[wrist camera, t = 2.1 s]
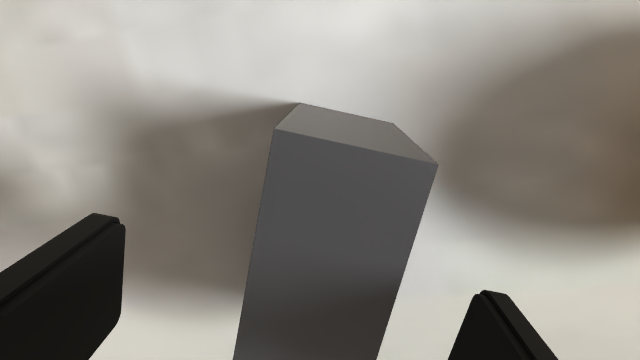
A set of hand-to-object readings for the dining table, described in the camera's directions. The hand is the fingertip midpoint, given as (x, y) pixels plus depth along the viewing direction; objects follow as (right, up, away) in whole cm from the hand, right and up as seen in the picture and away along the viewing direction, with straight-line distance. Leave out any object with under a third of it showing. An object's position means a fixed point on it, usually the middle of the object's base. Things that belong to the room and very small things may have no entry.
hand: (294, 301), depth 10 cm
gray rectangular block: (+1, +2, +7) cm, 7 cm away
